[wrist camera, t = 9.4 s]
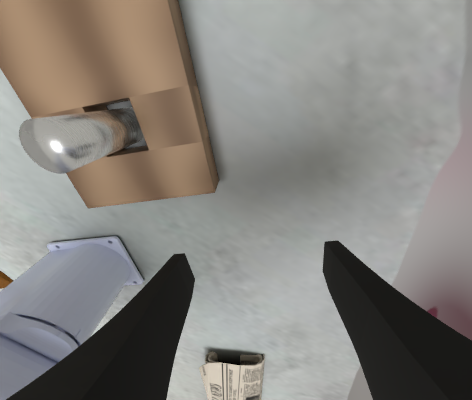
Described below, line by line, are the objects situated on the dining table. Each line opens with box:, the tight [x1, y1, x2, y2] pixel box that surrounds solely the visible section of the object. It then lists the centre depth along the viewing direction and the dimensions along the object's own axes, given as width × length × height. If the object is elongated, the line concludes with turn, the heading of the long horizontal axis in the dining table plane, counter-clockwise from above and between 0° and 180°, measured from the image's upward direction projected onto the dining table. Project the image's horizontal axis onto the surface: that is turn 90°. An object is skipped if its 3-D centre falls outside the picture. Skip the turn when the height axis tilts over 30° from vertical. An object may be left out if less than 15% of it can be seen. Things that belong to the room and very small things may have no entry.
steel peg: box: [19, 107, 145, 173], centre depth 13 cm, size 3×3×8 cm
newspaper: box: [199, 351, 264, 400], centre depth 41 cm, size 35×12×4 cm, turn 2°
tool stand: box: [0, 0, 219, 208], centre depth 13 cm, size 12×22×2 cm, turn 10°
